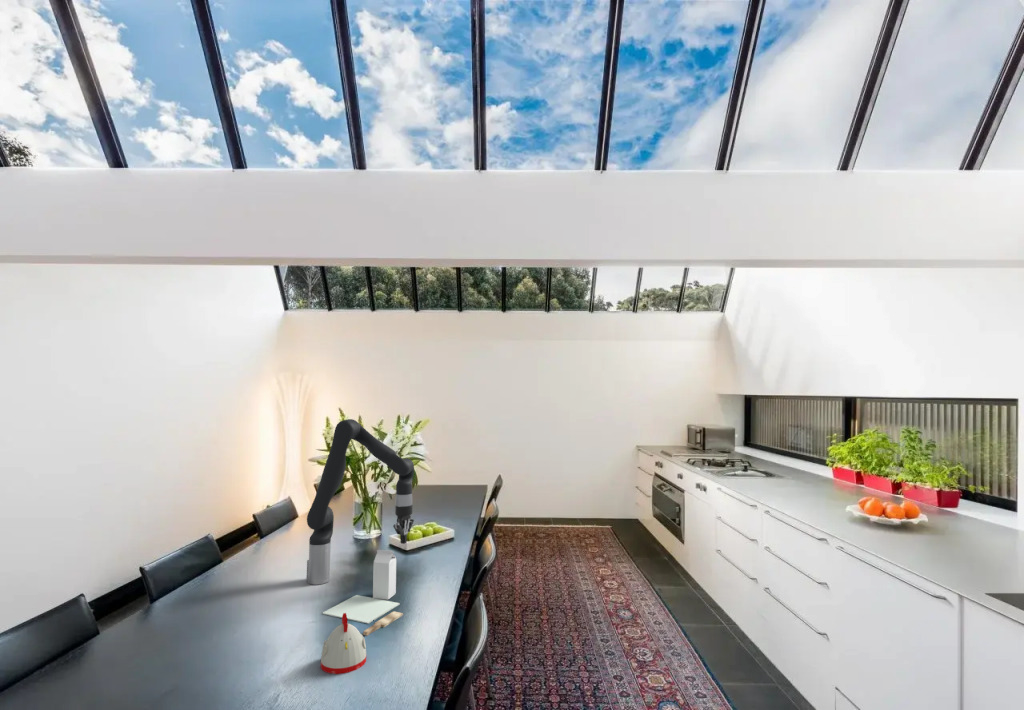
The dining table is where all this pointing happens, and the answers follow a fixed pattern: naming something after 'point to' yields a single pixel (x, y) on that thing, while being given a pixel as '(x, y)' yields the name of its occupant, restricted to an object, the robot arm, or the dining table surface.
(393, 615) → the beech turner
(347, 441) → the robot arm
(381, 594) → the milk carton
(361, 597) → the mat
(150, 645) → the dining table surface
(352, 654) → the kitchen timer
